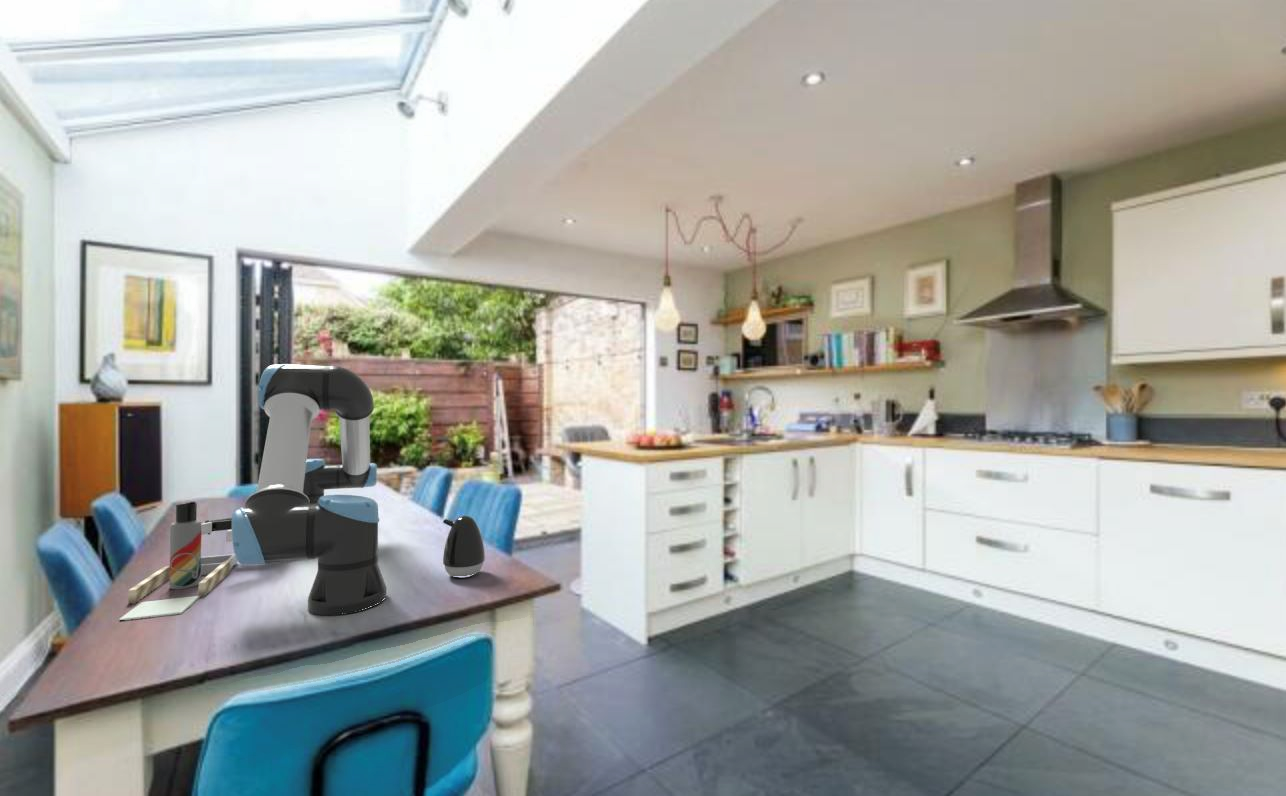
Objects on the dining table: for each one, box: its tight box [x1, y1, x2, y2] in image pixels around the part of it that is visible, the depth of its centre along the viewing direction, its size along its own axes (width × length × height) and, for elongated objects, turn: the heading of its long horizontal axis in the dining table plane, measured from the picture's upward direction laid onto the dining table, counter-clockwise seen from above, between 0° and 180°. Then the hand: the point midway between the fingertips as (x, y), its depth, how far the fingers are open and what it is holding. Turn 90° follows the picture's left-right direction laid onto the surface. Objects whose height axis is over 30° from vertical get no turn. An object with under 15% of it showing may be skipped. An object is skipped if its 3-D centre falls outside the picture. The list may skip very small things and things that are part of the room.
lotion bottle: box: [169, 501, 202, 590], centre depth 128 cm, size 6×6×20 cm
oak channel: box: [127, 561, 231, 604], centre depth 127 cm, size 18×13×3 cm
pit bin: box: [201, 553, 238, 576], centre depth 139 cm, size 9×12×2 cm
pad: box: [118, 595, 201, 621], centre depth 114 cm, size 10×10×1 cm
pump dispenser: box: [442, 515, 486, 577], centre depth 137 cm, size 10×10×15 cm
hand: (205, 534), depth 133 cm, fingers open, 13 cm apart
